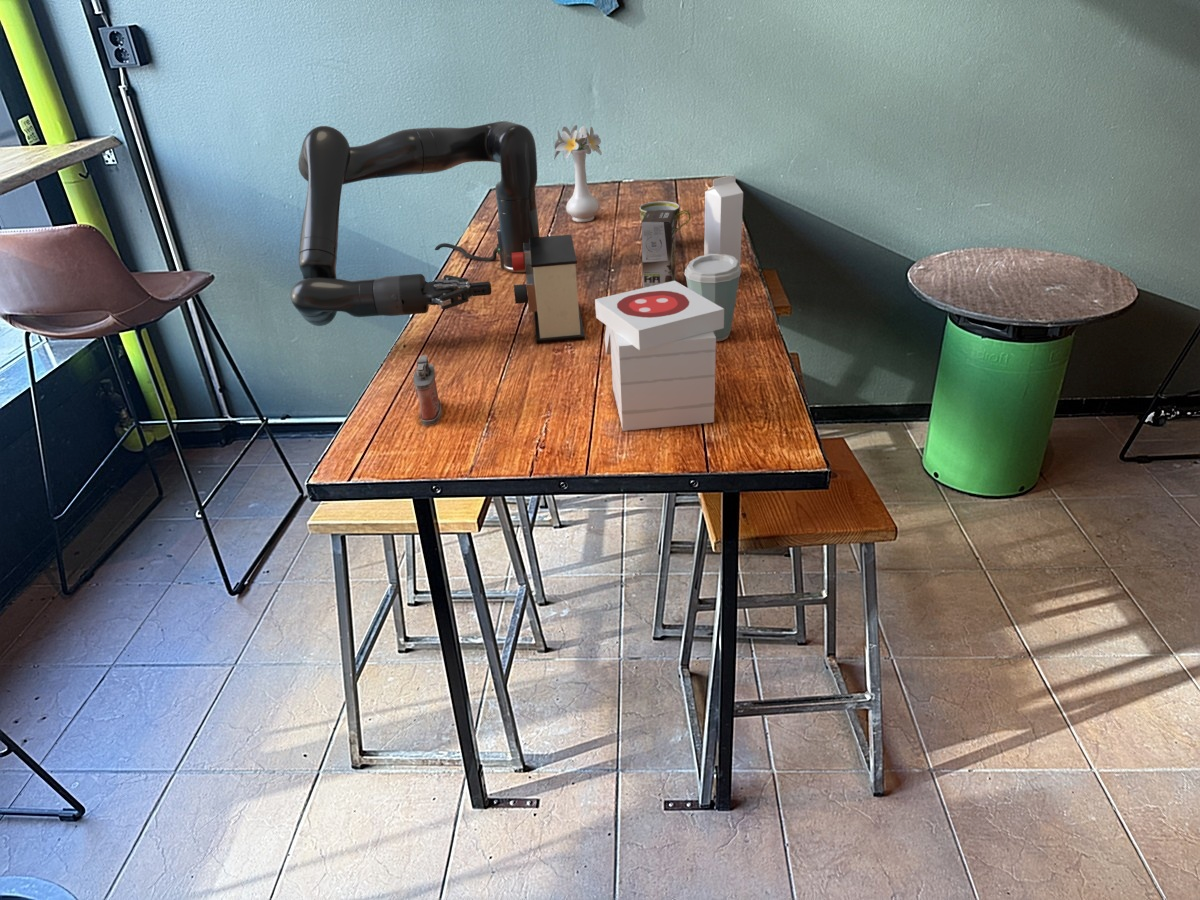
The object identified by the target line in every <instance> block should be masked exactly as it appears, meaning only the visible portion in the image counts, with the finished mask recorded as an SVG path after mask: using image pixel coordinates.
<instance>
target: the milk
mask: <svg viewBox="0 0 1200 900" xmlns="http://www.w3.org/2000/svg"><path fill="white" fill-rule="evenodd" d="M736 178H737V177H736V175H734V174H733V175H729V176H723V177H719V178H714V179H713V180H712V187H710V188H709V189H707V190H705V191H704V233H703V234H704V235H703V236H704V240H703V243H704V244H703V245H704V246H703V249H704V251H703V255H707V254H726V255H730V256H734V257H735V258H736V259H737V260H738V261H739V262H738V265H740V266H741V257H742V235H743V208H744V191H743V190H742V189H741V187H740V186H739V184H738V183H737V181H736Z"/></svg>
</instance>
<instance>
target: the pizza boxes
mask: <svg viewBox="0 0 1200 900" xmlns="http://www.w3.org/2000/svg"><path fill="white" fill-rule="evenodd" d="M594 304H595V305H594V307H595V319H597V320H598V321H599V322H601V323H602V324H603V325H605V332H604V347H605V355H606V356H607V355H610V361H611V380H612V381H611V382H612V391H613V395H614V400H615V404H616V408H617V413H618V416H619V420H620V425H621V429H622V432H625V431H634V430H635V431H636V430H647V429H658V428H667V427H668V428H670V427H677V426H678V427H679V426H689V425H690V426H691V425H701V424H711V423H715V404H716V403H715V402H716V401H715V396H716V354H717V353H716V350H717V342H716V337H715V335H714V333H713V331H715V330H719V329H722V328H724V309H723V308H722V307H720V306H718V305H716V304H715V303H713V302H711V301H709V300H708V299H706V298H704V297H702V296H701V295H699V294H697V293H695V292H694V291H692V290H690V289H689V288H688V286H685V285H683V284H682V283H680V282H678V281H677V280H675V281H671V282H667V283H662V284H658V285H654V286H650V287H645V288H643V287H641V288H636V289H632V290H628V291H624V292H620V293H615V294H611V295H607V296H603V297H598V298H595V299H594Z"/></svg>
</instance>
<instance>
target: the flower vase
mask: <svg viewBox="0 0 1200 900" xmlns="http://www.w3.org/2000/svg"><path fill="white" fill-rule="evenodd" d="M577 129H578V125H577V124H575V125H574V126H573V127H572V128H571V129H569V128H568V127H567V126H562V128H561V133H560V131H559V129H557V139H555V142H554V149H555V150H556V151H555V154H554V157H553V159H554V160H555V159H556V158H557V157H558V155H559V154H560V153H561V152H563V151H564V154H563V155H564V157H563V158H564V159H566V160H567V159H568V158H569V157H570V155H572V159H573V165H574V190H573V193H572V195H571V197H570V198H569V199H568V200H567V203H566V206H565V211H566V213H567V214H568V215H569V216H570V217H572V218H571V220H572V221H573V222H577V223H588V222H591V221H594V219H595V215H597V214H598V212H599V209H600V204H599V202H598V200H597V198H596V197H595V196H594V195H593V194H592V193H591V191H590V189H589V186H588V185H589V184H588V179H587V169H586V157H587V155H590V154H592V152H596V153H598V154H599V155H600V156H602V155H603V153H602V151H601V147H600V144H601V143H602V139H601V138H600V136H599V135H598V134H597V133H595V131H594V128H593V126H590V127H589V130H588V128H587V127H586V126H585V125H582V126H581V127H580V128H579V131H577Z"/></svg>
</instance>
